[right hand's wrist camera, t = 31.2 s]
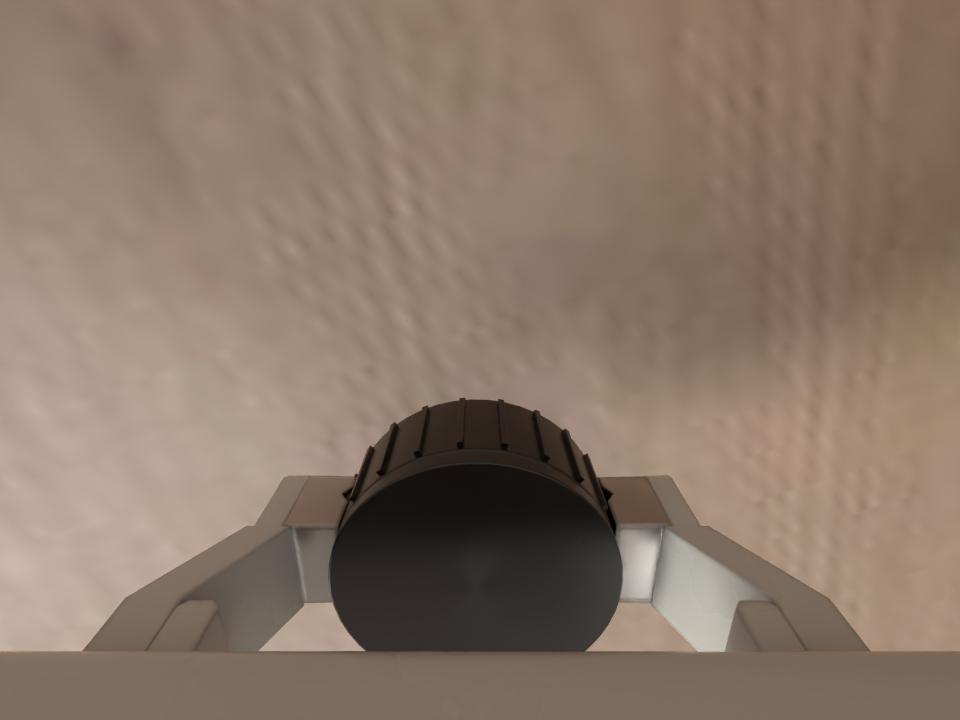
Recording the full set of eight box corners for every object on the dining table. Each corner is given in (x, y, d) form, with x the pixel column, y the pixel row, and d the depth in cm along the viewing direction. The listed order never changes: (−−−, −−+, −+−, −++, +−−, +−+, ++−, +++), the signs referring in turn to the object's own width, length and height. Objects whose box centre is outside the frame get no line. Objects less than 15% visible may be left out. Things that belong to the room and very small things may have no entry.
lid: (503, 630, 12) (508, 727, 10) (308, 528, 11) (269, 615, 9) (649, 480, 11) (692, 560, 8) (441, 344, 9) (431, 398, 7)
